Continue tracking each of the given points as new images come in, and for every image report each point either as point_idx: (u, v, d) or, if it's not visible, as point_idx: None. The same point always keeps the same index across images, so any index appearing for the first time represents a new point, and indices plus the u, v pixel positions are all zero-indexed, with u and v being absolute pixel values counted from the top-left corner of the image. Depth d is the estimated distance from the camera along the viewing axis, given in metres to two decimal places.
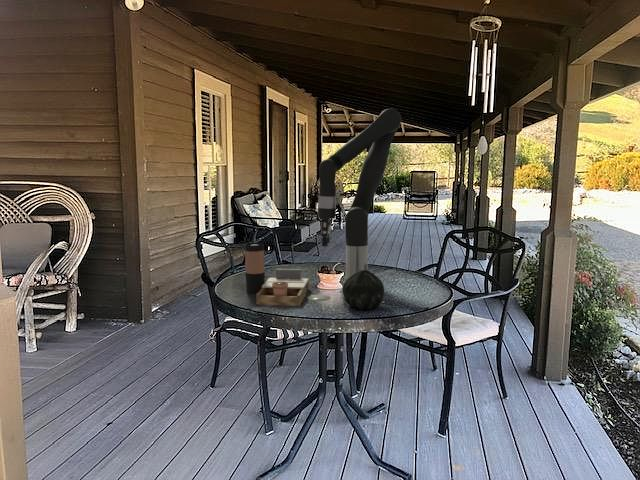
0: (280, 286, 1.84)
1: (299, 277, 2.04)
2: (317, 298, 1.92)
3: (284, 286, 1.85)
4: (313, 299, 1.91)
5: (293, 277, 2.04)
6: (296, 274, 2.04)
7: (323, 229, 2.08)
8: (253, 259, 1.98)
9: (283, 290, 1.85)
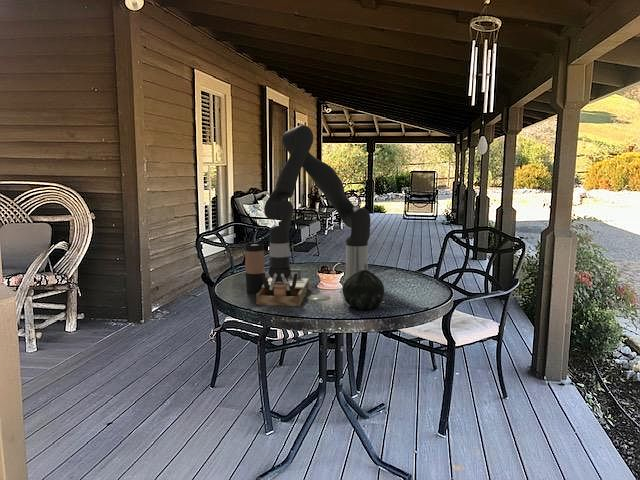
0: (280, 286, 1.84)
1: (299, 277, 2.04)
2: (317, 298, 1.92)
3: (284, 286, 1.85)
4: (313, 299, 1.91)
5: None
6: None
7: (296, 281, 1.86)
8: (253, 259, 1.98)
9: (283, 290, 1.85)
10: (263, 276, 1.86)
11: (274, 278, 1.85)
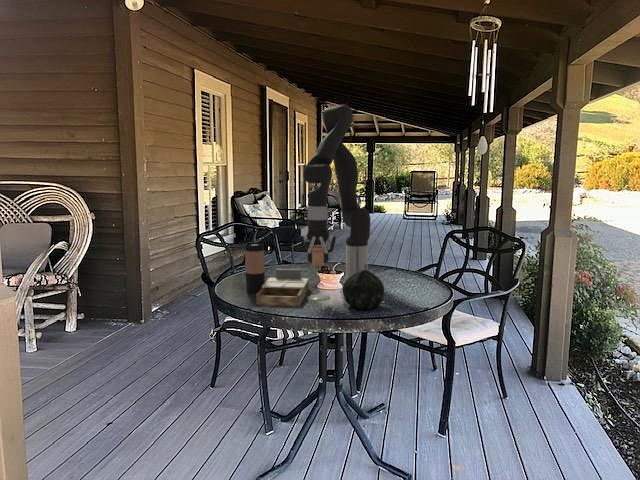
0: (319, 249, 1.88)
1: (299, 277, 2.04)
2: (317, 298, 1.92)
3: (322, 249, 1.88)
4: (313, 299, 1.91)
5: (293, 277, 2.04)
6: (296, 274, 2.04)
7: (334, 244, 1.89)
8: (253, 259, 1.98)
9: (321, 253, 1.89)
10: (302, 239, 1.89)
11: (312, 241, 1.89)
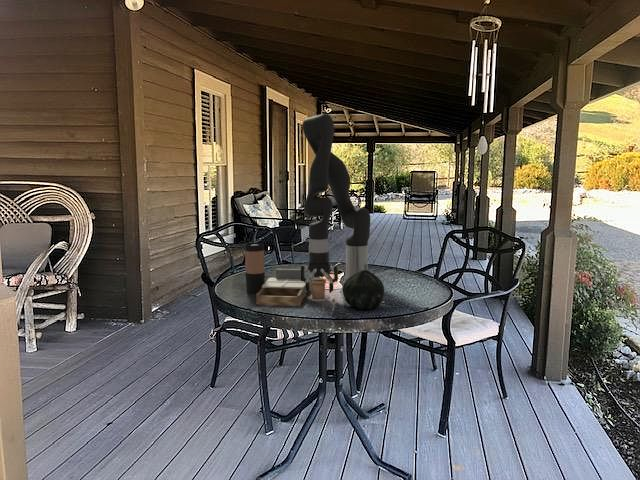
0: (319, 282, 1.89)
1: (299, 277, 2.04)
2: None
3: (323, 282, 1.90)
4: (313, 299, 1.91)
5: (293, 277, 2.04)
6: (296, 274, 2.04)
7: (337, 273, 1.91)
8: (253, 259, 1.98)
9: (321, 286, 1.91)
10: (302, 269, 1.91)
11: (313, 273, 1.90)
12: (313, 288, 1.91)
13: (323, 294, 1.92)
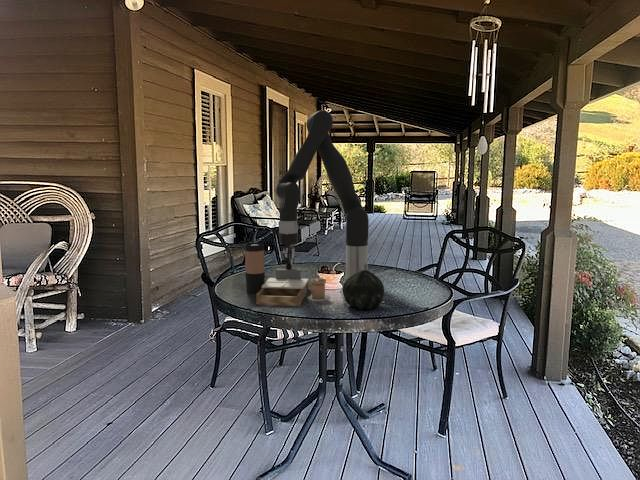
0: (319, 282, 1.89)
1: (299, 277, 2.03)
2: None
3: (322, 282, 1.90)
4: (313, 299, 1.91)
5: (293, 277, 2.04)
6: (296, 274, 2.03)
7: None
8: (253, 259, 1.98)
9: (321, 286, 1.91)
10: (289, 256, 2.01)
11: (292, 253, 2.05)
12: (313, 288, 1.91)
13: (323, 294, 1.92)
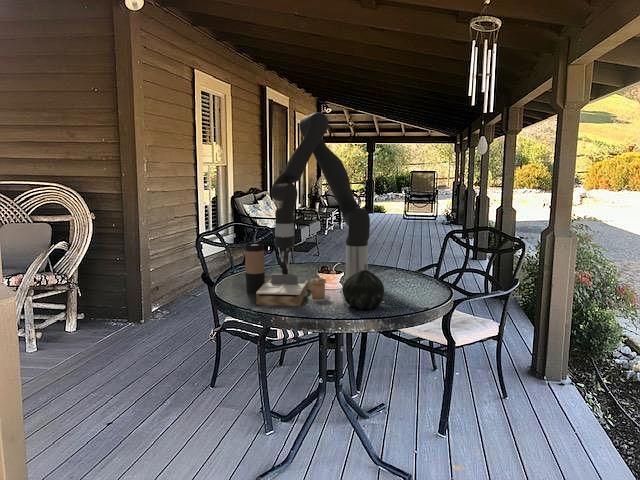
0: (319, 282, 1.89)
1: (295, 282, 1.95)
2: None
3: (322, 282, 1.90)
4: (313, 299, 1.91)
5: (289, 282, 1.95)
6: (292, 279, 1.95)
7: None
8: (253, 259, 1.98)
9: (321, 286, 1.91)
10: (285, 260, 1.92)
11: (288, 257, 1.96)
12: (313, 288, 1.91)
13: (323, 294, 1.92)
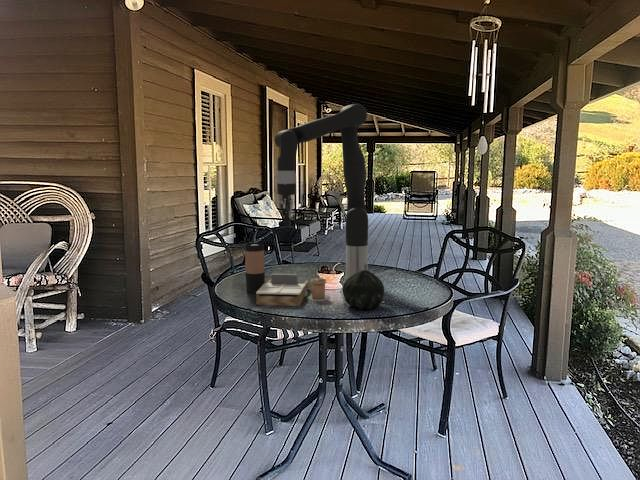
0: (319, 282, 1.89)
1: (295, 282, 1.95)
2: None
3: (323, 282, 1.90)
4: (313, 299, 1.91)
5: (289, 282, 1.95)
6: (292, 279, 1.95)
7: None
8: (253, 259, 1.98)
9: (321, 286, 1.90)
10: (287, 206, 1.94)
11: (290, 204, 1.98)
12: (313, 288, 1.91)
13: (323, 294, 1.92)
